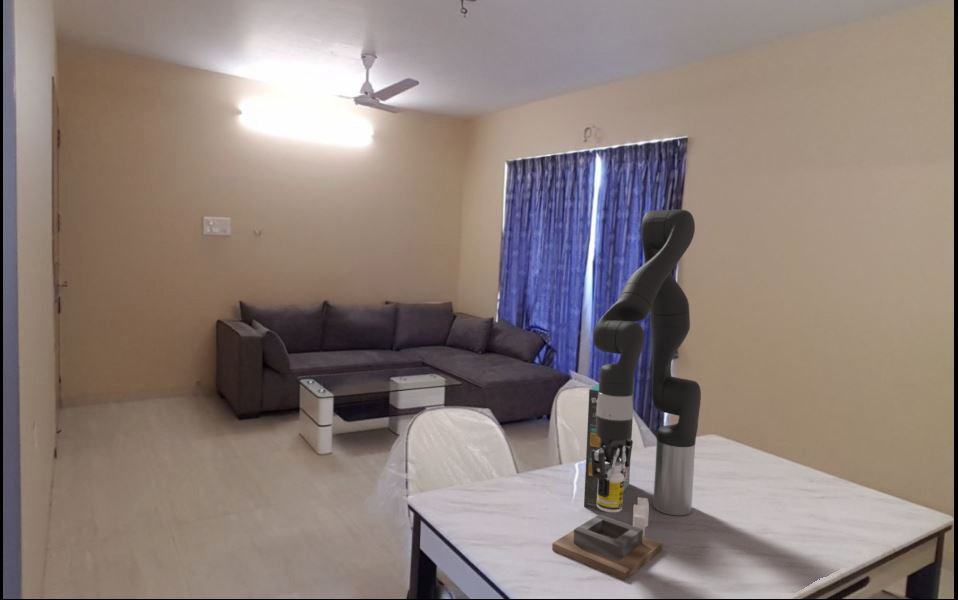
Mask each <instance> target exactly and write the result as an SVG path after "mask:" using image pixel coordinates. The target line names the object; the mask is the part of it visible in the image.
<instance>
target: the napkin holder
mask: <svg viewBox="0 0 958 600" xmlns="http://www.w3.org/2000/svg"><path fill="white" fill-rule="evenodd" d="M632 510H633V511H632V526H634V527H637V528H640V529H643V536H644V537H646V536H645V535H646V533H645V532H646V528H647V527H648V526H649V512H650V505H649V499H648V498H647V497H639V496H638V497H637V504H635V503H634V504H633V509H632Z"/></svg>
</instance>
